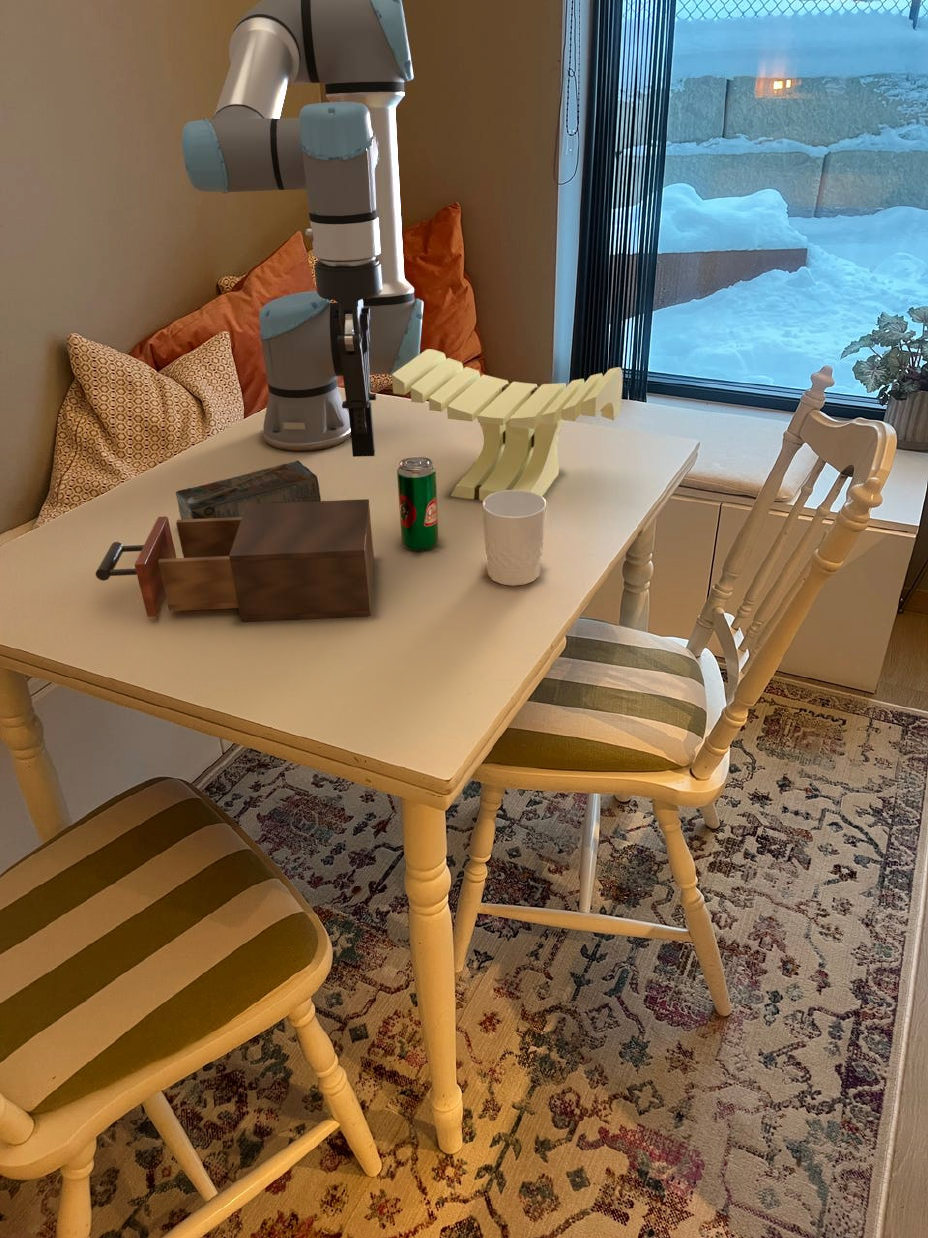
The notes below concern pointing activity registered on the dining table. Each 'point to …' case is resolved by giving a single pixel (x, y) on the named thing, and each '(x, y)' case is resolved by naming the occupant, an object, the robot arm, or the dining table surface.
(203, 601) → the drawer
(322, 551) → the cabinet
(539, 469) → the slatted curved stool
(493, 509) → the white cup
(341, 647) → the dining table surface
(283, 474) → the beverage carton
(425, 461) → the soda can
